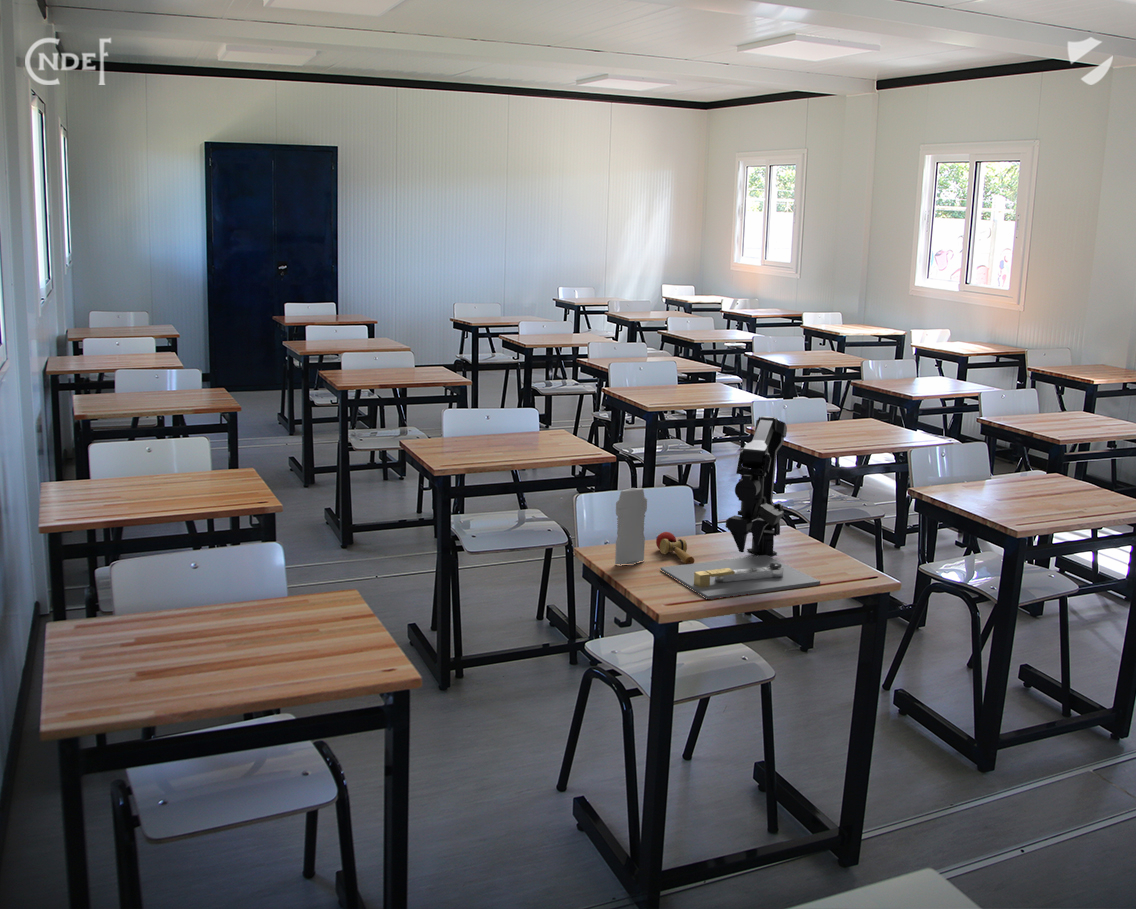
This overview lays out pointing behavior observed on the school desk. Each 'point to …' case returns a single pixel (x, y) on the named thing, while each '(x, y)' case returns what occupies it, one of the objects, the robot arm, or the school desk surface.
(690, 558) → the kendama
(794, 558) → the school desk surface
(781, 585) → the base plate
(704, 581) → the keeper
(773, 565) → the glossy black ball
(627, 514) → the tall pale column
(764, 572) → the link
